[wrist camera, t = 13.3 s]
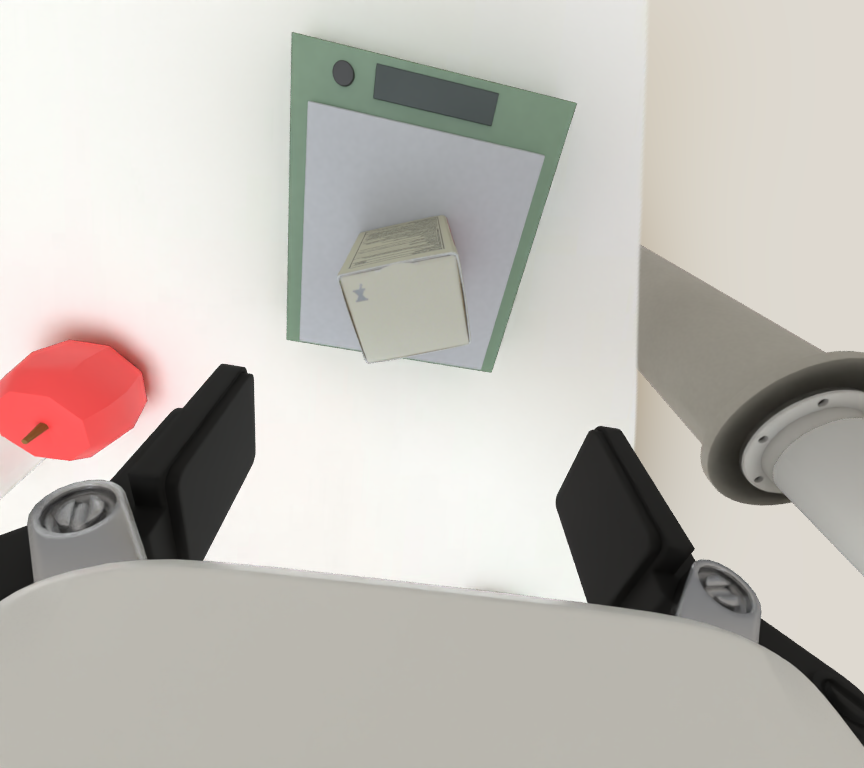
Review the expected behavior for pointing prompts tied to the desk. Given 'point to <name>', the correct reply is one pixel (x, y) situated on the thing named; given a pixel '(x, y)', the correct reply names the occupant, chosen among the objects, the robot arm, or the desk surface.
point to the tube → (14, 465)
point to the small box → (405, 290)
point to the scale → (412, 181)
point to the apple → (70, 400)
